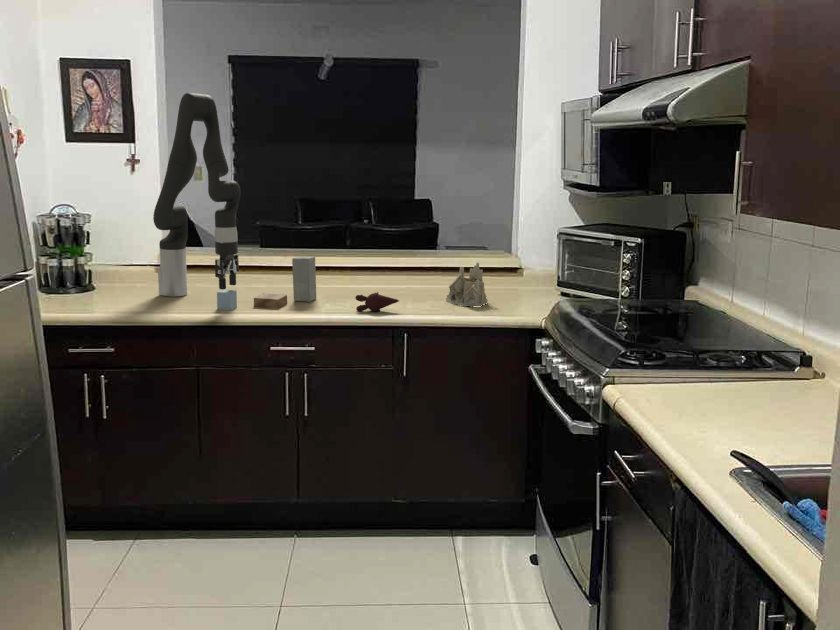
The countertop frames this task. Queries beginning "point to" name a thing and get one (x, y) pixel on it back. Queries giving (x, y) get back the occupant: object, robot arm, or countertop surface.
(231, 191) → the robot arm
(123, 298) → the countertop surface
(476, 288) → the ceramic cottage
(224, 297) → the blue block
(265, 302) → the walnut base
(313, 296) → the skincare box
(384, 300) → the icecream
